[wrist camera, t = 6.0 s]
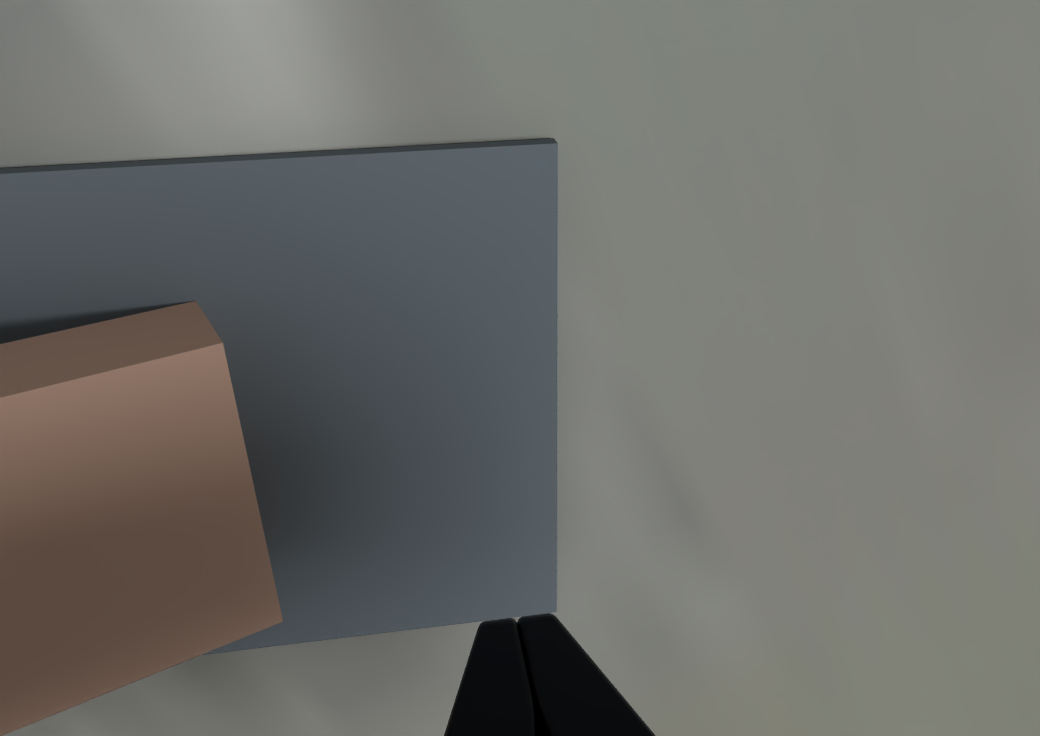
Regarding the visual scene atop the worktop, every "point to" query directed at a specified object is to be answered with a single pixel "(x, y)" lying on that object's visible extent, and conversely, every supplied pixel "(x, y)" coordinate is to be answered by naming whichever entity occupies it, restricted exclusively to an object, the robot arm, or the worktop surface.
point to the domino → (122, 510)
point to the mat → (342, 354)
